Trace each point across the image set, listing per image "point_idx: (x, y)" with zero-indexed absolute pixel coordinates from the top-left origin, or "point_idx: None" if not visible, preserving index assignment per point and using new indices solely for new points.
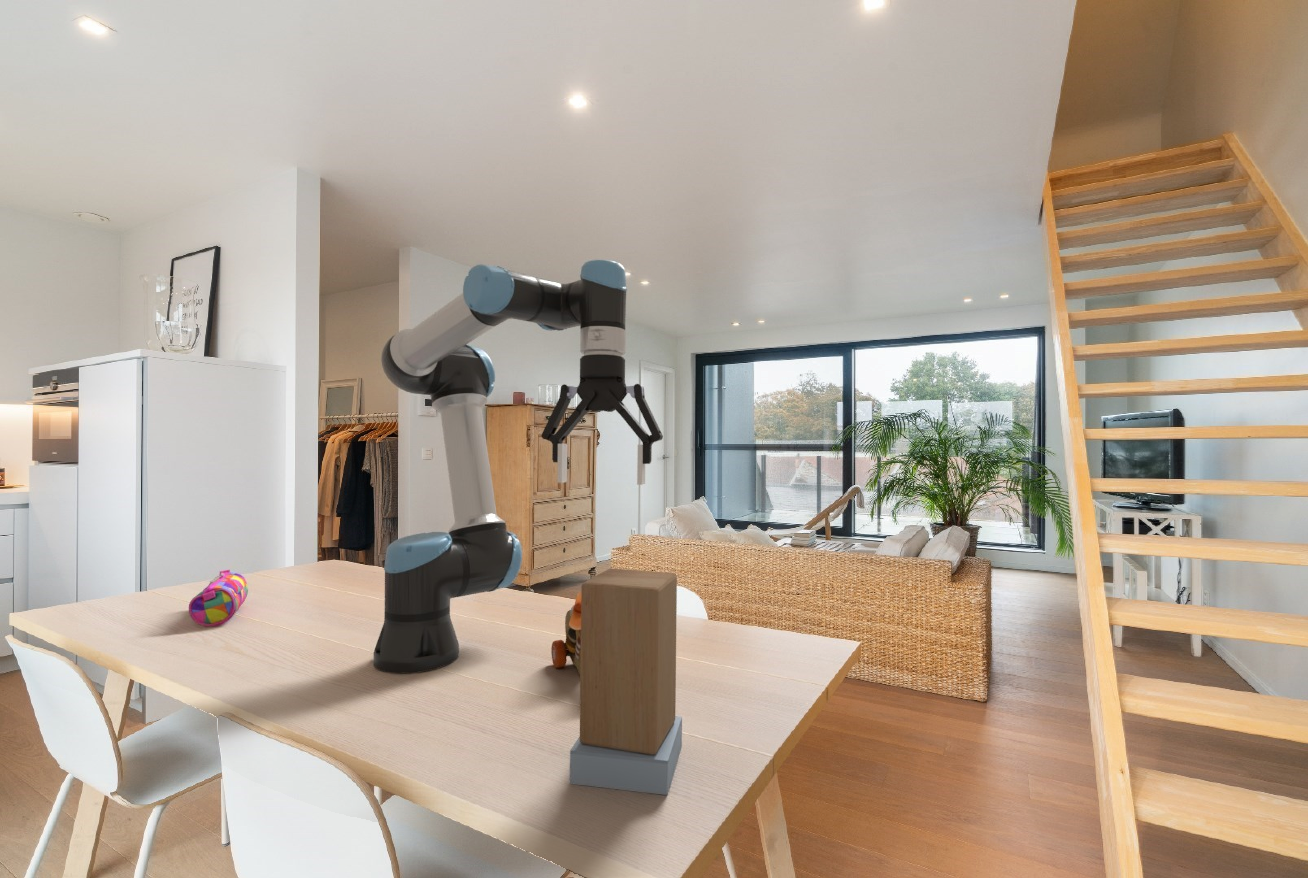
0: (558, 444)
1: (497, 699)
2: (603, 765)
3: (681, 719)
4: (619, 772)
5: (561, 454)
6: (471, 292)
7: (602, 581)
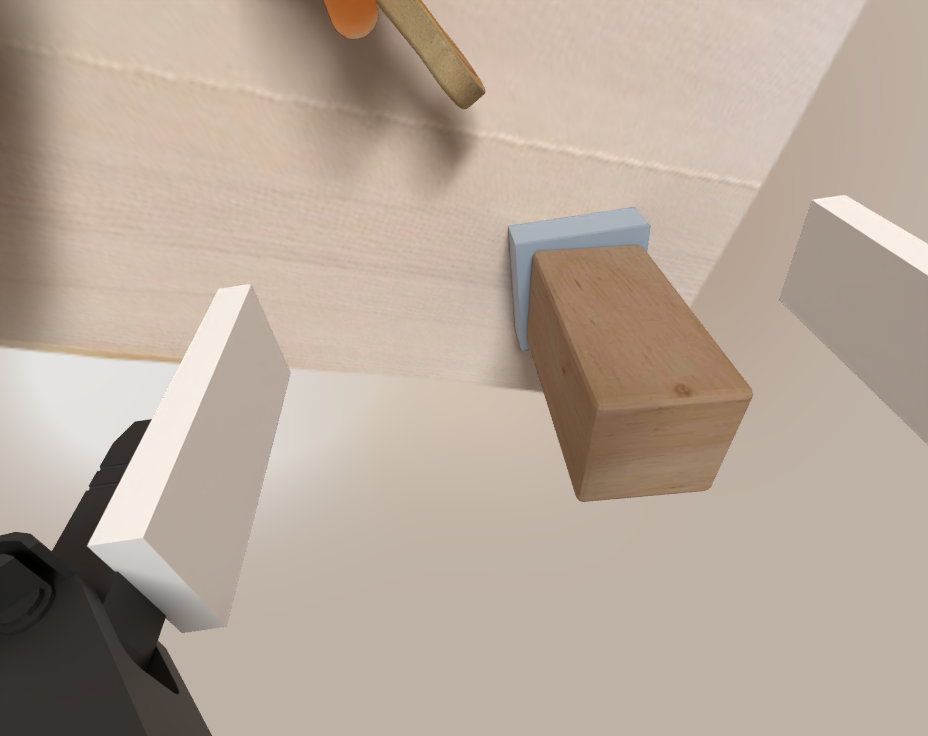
0: (192, 624)
1: (271, 156)
2: None
3: (649, 230)
4: None
5: (246, 532)
6: None
7: (612, 489)
